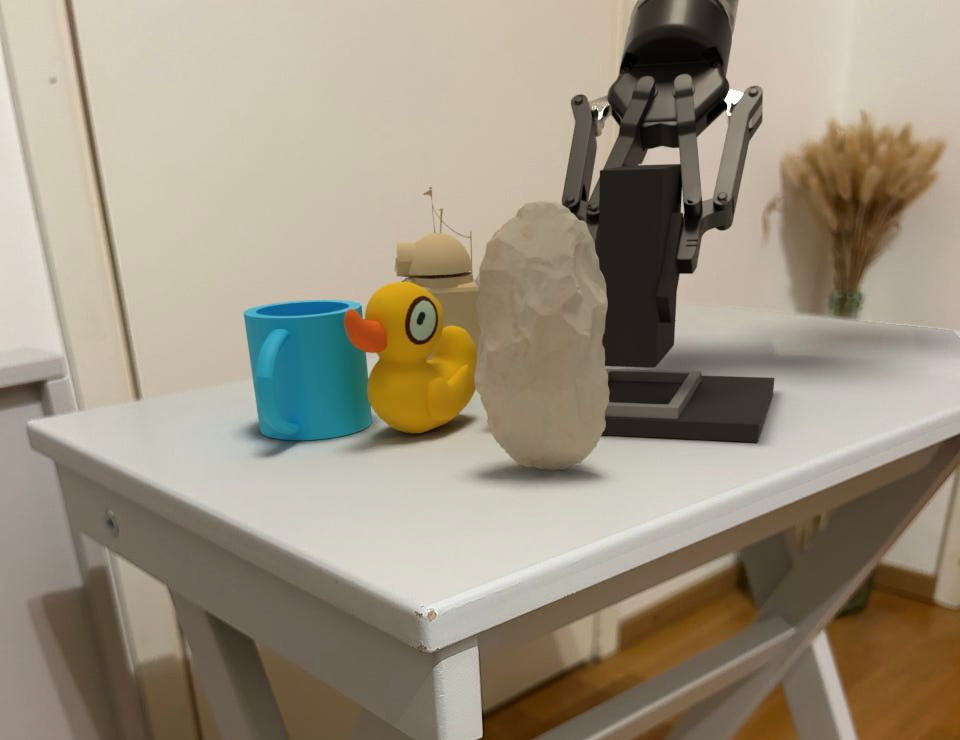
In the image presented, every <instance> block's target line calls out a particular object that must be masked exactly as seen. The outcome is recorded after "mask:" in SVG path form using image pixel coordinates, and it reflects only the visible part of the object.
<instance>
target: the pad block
mask: <svg viewBox="0 0 960 740" xmlns="http://www.w3.org/2000/svg"><path fill="white" fill-rule="evenodd" d="M599 177H600V187H599V247H598V258H599V269H600V271H601V272H602V274H603V276H604V279H605V283H606V296H607V301H608V306H607V312H606V318H605V332H604V334H603V339H602V345H603V347H604V349H605V367H614V368H616V367H618V368H620V367H621V368H647V369H648V368H650V369H651V368H652V369H655V368H656V367H657V366H658V364H660V363H661V361H663V359H664V358H665V357H666V355H667V354H668V353H669V352H670V351H671V350H672V349H673V347H674V346H675V336H676V318H677V317H676V315H677V314H676V313H677V298H678V297H677V296H678V295H677V293H678V292H677V293H676V298H675V304H674V310H673V316H672V321H671V323H660V319H659V312H658V306H657V299H656V295H657V289H658V284H659V280H660V274H661V269H662V263H663V257H664V252H665V246H666V241H667V235H668V230H669V224H670V219H671V213H682V200H683V191H682V178H681V165H680V163H672V164H667V163H666V164H665V163H664V164H663V163H662V164H638V165H630V166H621V167H615V168H610V169H604V170H603V169H600V170H599Z"/></svg>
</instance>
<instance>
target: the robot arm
mask: <svg viewBox="0 0 960 740" xmlns="http://www.w3.org/2000/svg"><path fill="white" fill-rule="evenodd" d="M739 1H740V0H633V2H632V8H631V11H630V17H629V21H628V22H629V24H628V27H627V31H626V36H625V40H624V45H623V51H622V55H621V60H620V65H619V71H618V76H617V78H615V81H614V82H613V83H612V84H611V85H610V87H609V88H608V91H607V95H604V96H600V97H598V98H596V99H595V98H594V99H592V100H590V101H589V99H588V97H587V95H585V94H583V93H582V94H581V93H580V94H576V95H575V96H573V97H572V98H571V100H570V107H571V112H572V116H573V121H574V126H573V134H572V139H571V143H570V150H569V156H568V161H567V163H568V164H567V167H566V173H565V174H566V175H565V178H564V184H563V190H562V196H561V205H563V206H564V207H566V208H568V209H569V210H570V212H571V213H572V214H574V215H575V216H576V217H577V219H578V220H579V221H584V222H585V223H586V224H587V227H588V230H589V233H590V235H591V236H592V238H593V241H594V244H595V251H596V254H597V256H598V247H599V187H600V176H598V179H597V182H596V184H595V186H594V188H593V190H592V193H591V187H592V181H593V175H594V169H595V163H596V158H597V157H596V156H597V150H598V142H597V138H598V137H600V136H602V134H603V131H602V130H603V129H604V128H605V125H606V120H607V119H608V118H609V117H612V118H613V120H614V121H615V123H616V124H617V125H618V126H619V128H618V129H619V130H618V134H617V138H616V140H615V142H614V144H613V146H612V148H611V150H610V153H609V155H608V157H607V160H606V161H605V164H604V166H603V169H602V170H604V169H610V168H615V167H621V166H630V165H643V162H644V160H645V157H646V156H647V153H648V151H649V150H652V149H655V148H659V147H665V148H672V149H678V151H679V164H680V165H681V178H682V203H683V205H682V206H683V212H681V213H671V219H670V224H669V230H668V235H667V241H666V246H665V252H664V257H663V263H662V269H661V274H660V280H659V284H658V289H657V295H656V299H657V306H658V312H659V319H660V323H671V321H672V316H673V310H674V304H675V298H676V299H677V297H676V293H678V286H679V281H680V275H693V274H694V273H695V271H696V269H697V268H698V262H699V256H700V250H701V245H702V238H703V236H704V234H705V233H706V232H708V231H710V230H713V229H716V230H717V231H727V230H729V229H730V228H731V227H732V225H733V223H734V218H735V214H736V209H737V203H738V198H739V194H740V189H741V183H742V180H743V179H742V178H743V174H744V169H745V164H746V159H747V155H748V150H749V144H750V142H751V140H752V138H753V137H754V135H755V134H756V132H757V131H758V129H759V128H760V126H761V125H762V123H763V113H764V111H763V107H764V106H763V105H764V102H763V101H764V99H763V97H764V96H763V95H764V91H763V88H762V87H761V86H759V85H751V86H749V87H747V88H746V89H745V90H744V92H741V91H737V90H734V89H730V82H729V80H728V78H727V73H728V67H729V62H730V56H731V50H732V44H733V43H732V42H733V35H734V32H735V26H736V20H737V14H738V8H739ZM723 113H726V124H727V130H726V135H725V139H724V144H723V149H722V152H721V157H720V163H719V167H718V172H717V175H716V176H717V177H716V182H715V186H714V190H713V195H712V197H711V198H709V199H706V200H705V199H704V200H703V194H702V184H701V183H702V182H701V171H700V160H699V159H700V158H699V148H698V137H699V136H700V135H701V134H702V133H703V132H704V131H706V130H707V128H708V127H709V126H711V125H712V124H713V123H714V122H716V120H717V119H718V118H719V117H720V116H721V115H722V114H723ZM590 193H591V195H590Z"/></svg>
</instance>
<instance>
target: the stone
mask: <svg viewBox="0 0 960 740" xmlns="http://www.w3.org/2000/svg"><path fill="white" fill-rule="evenodd" d="M479 273H480V294H479V297H478V300H477V303H476V308H477V311H478V324H479V326H480V329H481V334H480V337H479V349H478V358H477V364H476V370H475V375H474V382H475V388H476V389H475V391H476V392H477V393H478V394H479V396H480V401H481V403H482V405H483V408H484V410H485V412H486V417H487V421H486V424H487V425H488V427H489V431H490V433H491V435H492V437H493V439H494V440H495V442H496V443H498V444H499V446H500V447H501V448H502V449H503V450H504V452H505V453H506V454H508V455H509V457H510V458H512V460H513V461H515V463H516V464H518V465H521V466H525V467H534V468H535V469H539V470H540V469H542V470H547V471H554V470H565V469H568V468H570V467H572V466H573V465H576V464H579V465H580V464H582V462H583V461H584V460H585V459H586V458H587V457H589V456H590V454H592V452H593V451H594V449H595V448H597V445H598V443H599V441H601V437H602V436H603V435H602V432H603V431H604V430H605V427H606V422H605V410H606V408H607V405H608V403H609V394H610V392H609V387H608V374H607V371H606V369H607V368H606V366H605V349H604V347H603V345H602V339H603V334H604V332H605V318H606V312H607V306H608V301H607V296H606V283H605V279H604V276H603V274H602V272H601V271H600V269H599V258H598V256H597V254H596V251H595V244H594V241H593V238H592V236H591V235H590V233H589V230H588V227H587V224H586V223H585V222H584V221H579V220H578V219H577V217H576V216H575V215H574V214H572V213H571V212H570V210H569V209H568V208H566V207H564V206H563V205H562V204H560V203H558V202H557V201H543V200H542V201H541V200H539V201H538V200H537V201H533V202H526V203H524V204H523V205H522V207H520V208H519V209H518V210H517V212H516V214H515V216H513V217H511V218H510V219H508V220H507V221H506V222H505V223H504V224H503V225H501V227H500V229H497V230H496V231H495V232H494V233H493V234H492V236H491V238H490V239H489V240H488V242H487V243H486V247H485V252H484V256H483V258H482V260H481V262H480V265H479V269H478V274H479Z"/></svg>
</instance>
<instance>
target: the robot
mask: <svg viewBox="0 0 960 740" xmlns="http://www.w3.org/2000/svg"><path fill="white" fill-rule="evenodd" d="M428 188H429V190H427V191H425V192H424V193H422V195H424V196H430V197H431V200H433V190H432V189H433V187H432V186H431V187H428ZM431 209H432V211H431V213H432V214H434V213H435V215H436V216H437V217H438V219H439V221H440V222H439V232H436V226H435V225H433V233H429V234H427V235H424V236H422V237H421V238H419V239H418V240H416V242H415V243H413V242H412V243H411V242H396V257H395V264H394V272H395V273H396V275H395V276H396V277H400V278H404V279H403V280H401V282H411V283H414V284H416V285H419V286H421V287H422V288H424V289H425V290H427V291H428V292H429V293H430V294H432V296H433V297H434V298H435V299H437V300H438V301H439V302H440V304H441V306H442V309H443V328H445V327H447V326H458V327H461V328H463V329H465V330H466V331H467V332H468V334H469V335H470V337H471V338H472V340H473V342H474V344H475V347H476V355H477V358H478V349H479V337H480V334H481V329H480V326H479V324H478V311H477V308H476V303H477V300H478V297H479V289H478V287H477V284H476V282H475V278H474V274H473V244H472V241H473V239H472V231H470V232H469V236H468V235H464V234H461V233H459V232H457V231H455V230H454V229H453V228H451V227H450V226H449V225H447V224H446V222H444V221H443V211H444V208H440V209H438V211H440V216H439V215H438V213H437V212H436V210H435V208H434V204H433V203H431ZM432 221H433V224H435V218H434V216H432ZM443 224H444V225H445V226H446V227H447V228H448V229H449V230H451V231H452V232H453V233H455V234H456V235H459V236H461V237H464V238H467V239H470V254H469V252H468V250H467V249H466V247H465V246H464V245H463V243H462V242H461V241H460V240H458V239H457V238H455V237H454V236H452V235H450V234H447V233H443V232H442V229H443V228H442V227H443V226H442V225H443ZM433 352H434V350H433ZM433 352H432V353H431V354H430V355H429V356H428V357H427V359H426V361H427V360H431V359H432V356H433Z"/></svg>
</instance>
